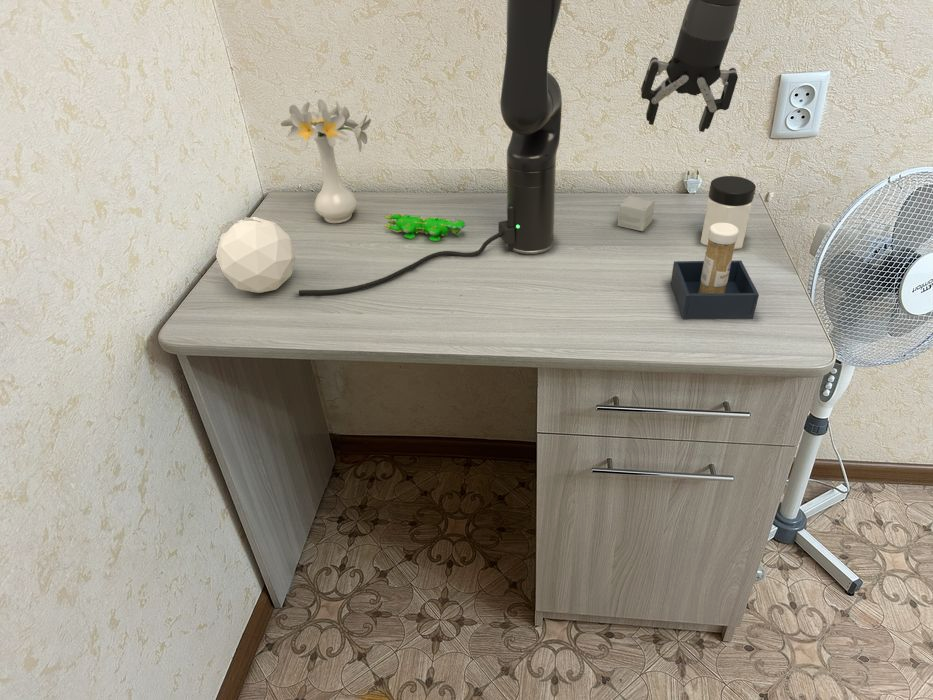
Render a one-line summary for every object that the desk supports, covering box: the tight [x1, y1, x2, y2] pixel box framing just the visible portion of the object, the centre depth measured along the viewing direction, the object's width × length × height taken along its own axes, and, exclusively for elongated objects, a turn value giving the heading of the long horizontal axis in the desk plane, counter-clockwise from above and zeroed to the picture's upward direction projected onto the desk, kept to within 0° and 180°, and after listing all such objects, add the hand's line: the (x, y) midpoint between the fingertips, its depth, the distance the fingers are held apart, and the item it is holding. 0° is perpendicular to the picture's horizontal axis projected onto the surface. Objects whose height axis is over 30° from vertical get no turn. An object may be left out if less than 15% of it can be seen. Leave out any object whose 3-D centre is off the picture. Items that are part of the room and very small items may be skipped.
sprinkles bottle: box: [698, 223, 739, 294], centre depth 115 cm, size 5×5×14 cm
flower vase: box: [280, 98, 372, 224], centre depth 146 cm, size 13×18×25 cm
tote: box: [670, 259, 760, 320], centre depth 119 cm, size 12×11×5 cm
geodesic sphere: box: [215, 215, 297, 294], centre depth 127 cm, size 15×14×14 cm
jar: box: [700, 175, 757, 250], centre depth 133 cm, size 9×8×12 cm
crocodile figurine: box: [383, 213, 467, 242], centre depth 144 cm, size 7×18×4 cm, turn 74°
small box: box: [617, 195, 655, 232], centre depth 143 cm, size 6×6×5 cm
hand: (675, 126), depth 116 cm, fingers open, 8 cm apart
